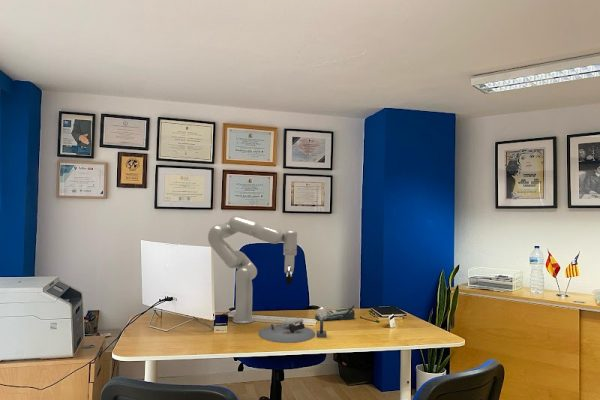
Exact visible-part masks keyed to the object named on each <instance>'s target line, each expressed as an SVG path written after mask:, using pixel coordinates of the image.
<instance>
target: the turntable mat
mask: <svg viewBox="0 0 600 400" xmlns="http://www.w3.org/2000/svg"><path fill="white" fill-rule="evenodd" d="M274 325H275V324H273V326H274ZM278 325H280V326H282V327H285V326H284V324H278ZM278 325H275V330H272V327H271V325H270V326H269V325H268V326H266V327H263V328H261V329H260V330H258V333H257V334H258V336H259V337H260V338H261V339H264V340H266V341H269V342H273V343H274V342H275V343H282V344H294V343H295V344H296V343H303V342H306V341H307V342H308V341H310V340H312V339H314V338H315V336H316V331H315V330H313V329H311V328H310V327H307V326H305V328H304V329H300V330H297V331H294V333H292V332H290V328H287V327H285V328H282V327H280V326H278Z"/></svg>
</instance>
